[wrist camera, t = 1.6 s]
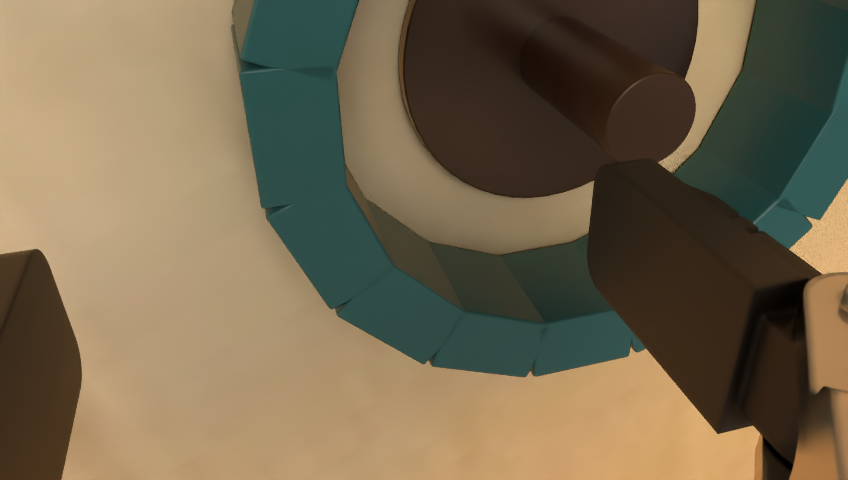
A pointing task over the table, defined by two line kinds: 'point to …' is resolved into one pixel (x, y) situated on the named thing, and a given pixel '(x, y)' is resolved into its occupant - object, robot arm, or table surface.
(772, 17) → the ring
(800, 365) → the robot arm
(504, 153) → the peg stand
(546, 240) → the table surface
